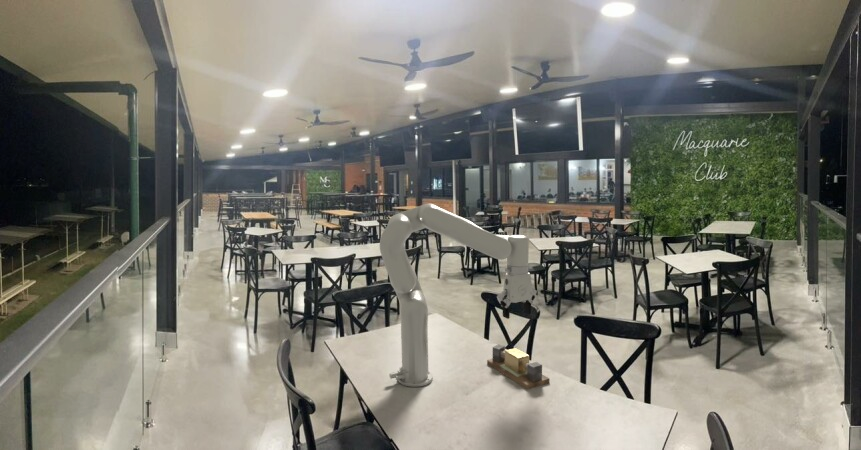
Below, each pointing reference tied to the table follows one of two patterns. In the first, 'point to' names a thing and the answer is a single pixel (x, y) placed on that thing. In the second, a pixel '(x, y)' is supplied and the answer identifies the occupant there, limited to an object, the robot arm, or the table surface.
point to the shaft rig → (524, 379)
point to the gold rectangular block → (516, 360)
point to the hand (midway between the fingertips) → (516, 315)
